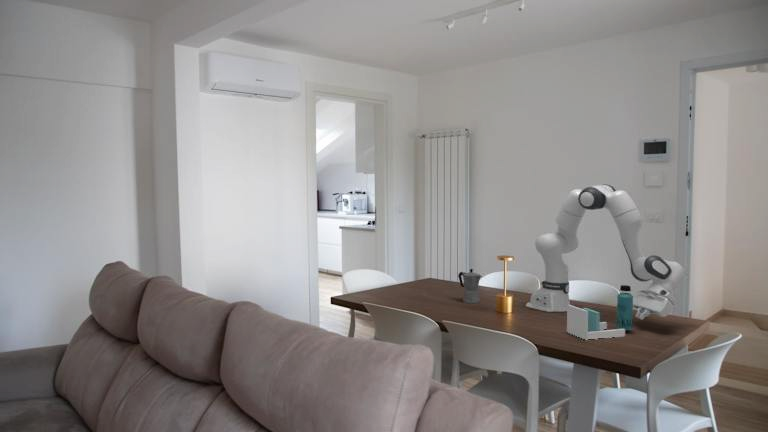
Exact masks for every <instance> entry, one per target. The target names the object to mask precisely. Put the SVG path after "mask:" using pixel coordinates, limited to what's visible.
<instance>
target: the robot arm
mask: <svg viewBox="0 0 768 432" xmlns="http://www.w3.org/2000/svg"><path fill="white" fill-rule="evenodd" d="M603 208H604V209H606V210H608V211H609V213H610V215H611V217H612V219H613V221H614V223H615V225H616V227H617V230H618V232H619V236H620V239H621V241H622V245H623V247H624V250H625V252H626V254H627V257H628V260H629V264H630V273H631V275H632V276H633V278H634V279H635V280H637V281H639V282H644V283H645V282H648V281H650V280H652V283H651V284H650V286H649V287H647V289H646V290H644V289H643V290H639V291H637V292H635V293H634V294H633V295H632V296H633V309H636V310H637V313H636V314H635V318H637V319H639V320H642V321H643V320H644V319H645V318H647V316H650V315H651V314H652V315H656V316H658V317H663V318H665V317H667V316H668V315H669V314H670V313H671V312H672V311H673V308H674V306H676V305H677V304H678V301H677V300H676V299H675V298H674V296H673V293H674V291H675V290H677V289H678V287H680V285H681V284H682V282H683V281H684V279H685V277H686V270H685V268H684V267H683V265H681V264H680V263H679V262H677V261H670V260H666V259H664V258H663V257H660V256H658V255H649V256H646V257H645V255H644V253H643V250H642V248H641V246H640V243H639V240H638V236H639V231H640V230H641V228H642V226H643V219H642V215H641V212H640V211H639V209H638V206H637V205H636V203H635V201H634V200H633V199H632V197H631V196H630V195H629V193H628V192H627V191H625V190H622V189H621V190H616V188H615V187H614V186H612V185H610V184H605V183H603V184H595V185H592V186H588V187H585V188H584V189H579V188H576V189H572V190H571V191H570V192H569V193H568V195H567V196H566V198H565V200H564V201H563V202H562V205H561V207H560V210H559V211H558V213H557V216H556V218H555V222H556V224H557V230H556V231H555V232H550V233H544V234H541V235H539V236H538V237H537V238H536V240H535V243H534V246H535V250H536V252H537V253H539V254H540V255H541V258H542V259H543V263H544V270H545V272H544V273H545V276H544V277H545V280H543V281H541V282H540V285H542V286H541V287H540V288H539V289H537V290H536V291H534V292H533V293H532V294H531V296H530V302H529V301H528V302H527V303H526V304H525V307H527V308H529V309H530V308H531V309H535V310H539V311H544V312H547V313H552V312H561V313H562V312H567V305H571V302H570V296H569V293H570V281H569V266H568V264H566V262H564V260H563V256H562V254H570V253H571V252H574V251H576V250H577V249H578V246H579V238H578V237H577V234H578V233H577V232H578V229H579V226H580V223H581V221H582V219H583V217H584V215H585V213H586V211H587V210H590V211H591V210H592V211H593V210H601V209H603Z"/></svg>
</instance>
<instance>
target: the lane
mask: <svg viewBox="0 0 768 432" xmlns="http://www.w3.org/2000/svg"><path fill="white" fill-rule="evenodd" d="M604 329H607V330H604ZM567 332H568V333H567ZM566 333H567V334H569V333H570V334H569V335H572V334H573V335H572V336H574V335H575V336H574V337H576V336H577V338H578V337H580V338H579V339H581V338H582V339H581V340H583V339H585V340H584V341H589V340H588V339H595V340H599V339H598V338H605V339H613V338H612V337H615V338H623V337H624V338H625V337H626V330H625V329H618V328H617V329H608V322H607V321H602V322H601V321H600V331H593V332H588V311H586V310H584V309H583V308H580V307H577V306H574V305H572V304H570V305H567V311H566Z"/></svg>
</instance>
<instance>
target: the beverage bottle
mask: <svg viewBox="0 0 768 432" xmlns="http://www.w3.org/2000/svg"><path fill="white" fill-rule="evenodd" d="M619 290H620V291H621V292H620V293H618V294H617V297H616V299H617V303H616V321H615V322H616V323H615V324H616V328H617V329H625V331H631V330H632V329H633V326H634V325H633V324H634V323H633V322H634V321H633V320H634V317H633V316H634V315H633V314H634V308H633V295H632V294H631V293H630V292H631V291H632V289H631V285H626V284H625V285H624V284H622V285H620V289H619Z"/></svg>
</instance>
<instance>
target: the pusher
mask: <svg viewBox="0 0 768 432" xmlns="http://www.w3.org/2000/svg"><path fill="white" fill-rule="evenodd" d="M582 309H584V310H586V311H588V332H593V331H601V330H600V322H601V321H600V319H601V315H600V314H601V313H600V312H599V311H596V310H593V309H591V308H587V307H582Z"/></svg>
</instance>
